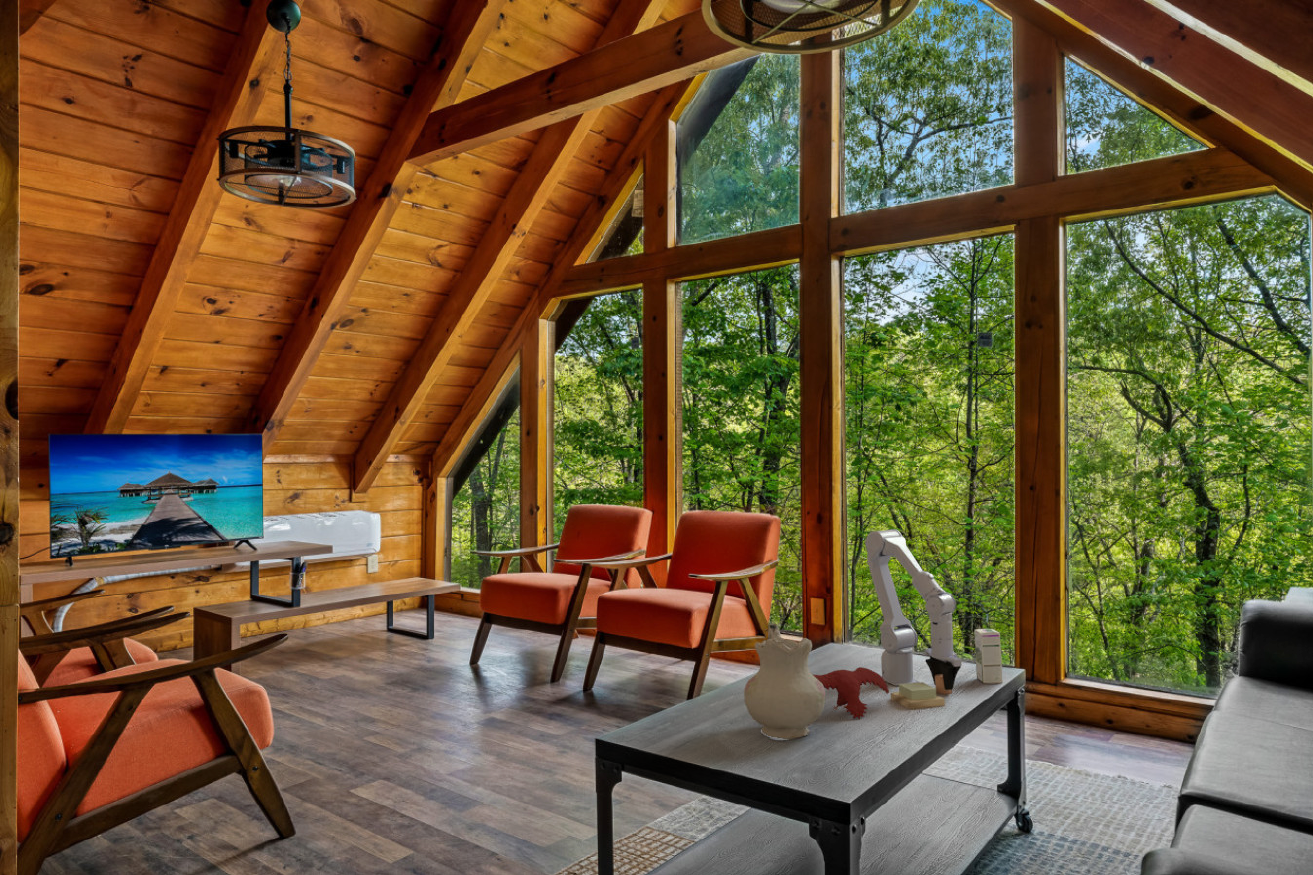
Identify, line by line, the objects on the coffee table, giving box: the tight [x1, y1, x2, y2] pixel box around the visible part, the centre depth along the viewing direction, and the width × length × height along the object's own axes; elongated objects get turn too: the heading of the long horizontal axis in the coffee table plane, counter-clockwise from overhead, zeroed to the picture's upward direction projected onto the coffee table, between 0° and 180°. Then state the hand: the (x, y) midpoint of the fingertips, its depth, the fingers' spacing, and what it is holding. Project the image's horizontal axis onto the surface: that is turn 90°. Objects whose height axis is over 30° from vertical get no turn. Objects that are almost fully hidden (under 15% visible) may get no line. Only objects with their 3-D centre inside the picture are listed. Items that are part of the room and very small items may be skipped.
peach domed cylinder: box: [934, 674, 953, 696], centre depth 238 cm, size 4×4×4 cm
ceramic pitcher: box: [743, 622, 826, 740], centre depth 209 cm, size 22×20×25 cm
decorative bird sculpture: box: [811, 666, 890, 720], centre depth 222 cm, size 28×9×15 cm
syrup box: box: [974, 628, 1003, 684], centre depth 249 cm, size 6×6×14 cm
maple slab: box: [890, 691, 946, 710], centre depth 229 cm, size 10×10×2 cm
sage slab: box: [898, 681, 937, 700], centre depth 229 cm, size 7×7×2 cm
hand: (943, 687), depth 238 cm, fingers closed on peach domed cylinder, 4 cm apart
